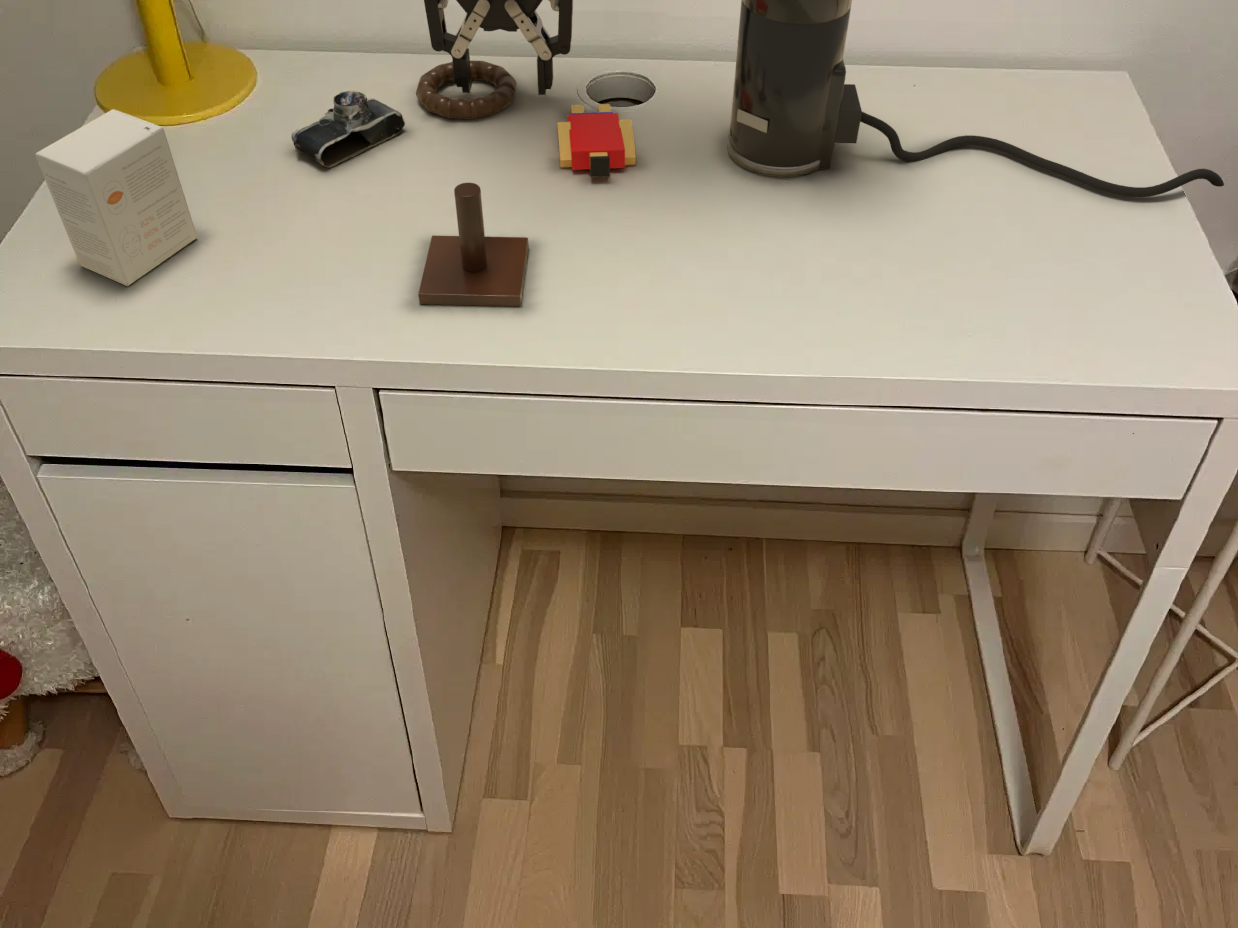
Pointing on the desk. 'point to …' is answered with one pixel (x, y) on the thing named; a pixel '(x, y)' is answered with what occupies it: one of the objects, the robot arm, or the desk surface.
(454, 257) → the post
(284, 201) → the desk surface
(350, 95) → the camera
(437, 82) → the ring
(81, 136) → the small box
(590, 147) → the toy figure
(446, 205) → the desk surface
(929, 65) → the desk surface
